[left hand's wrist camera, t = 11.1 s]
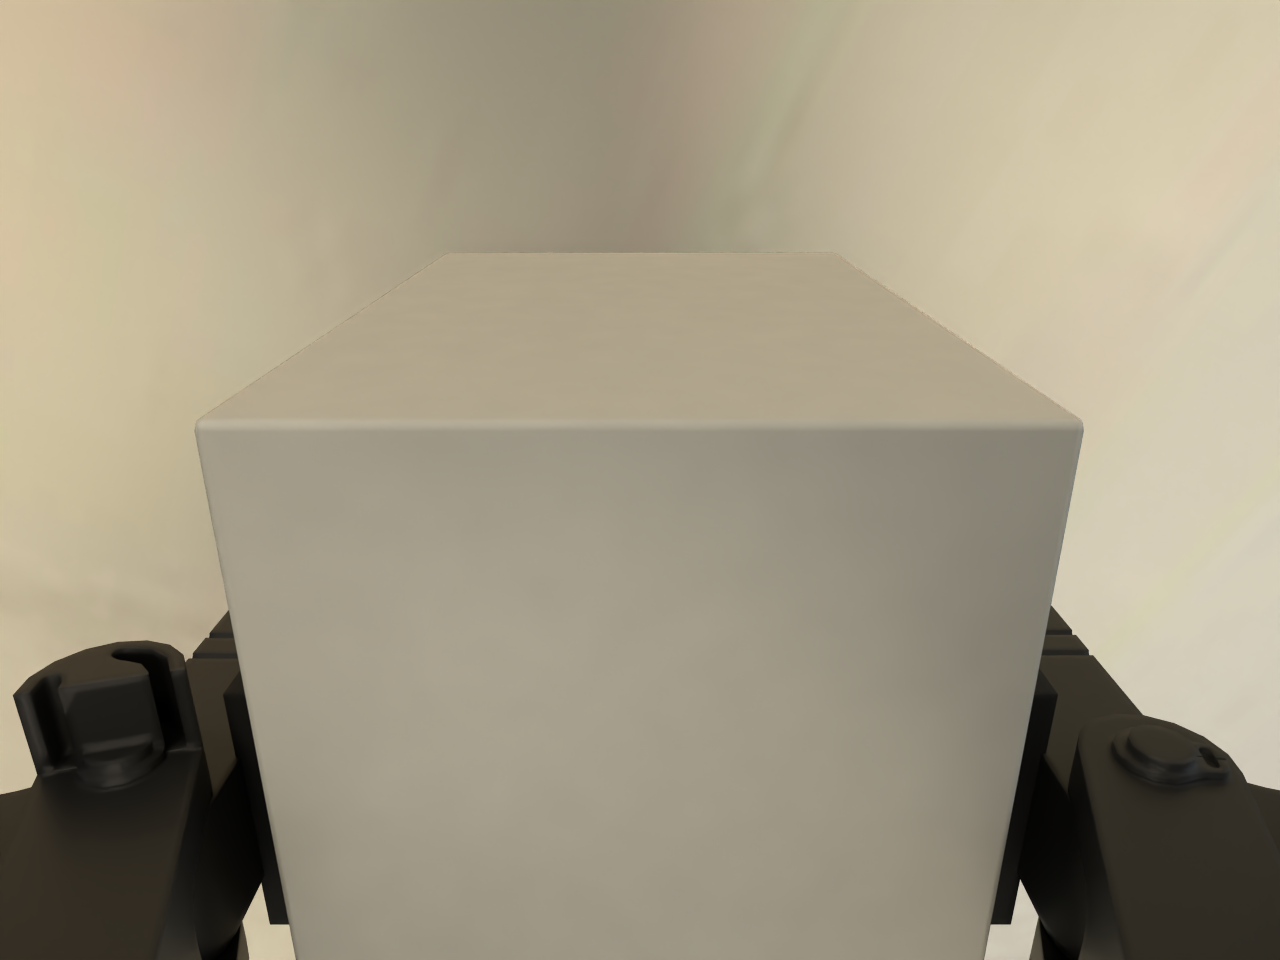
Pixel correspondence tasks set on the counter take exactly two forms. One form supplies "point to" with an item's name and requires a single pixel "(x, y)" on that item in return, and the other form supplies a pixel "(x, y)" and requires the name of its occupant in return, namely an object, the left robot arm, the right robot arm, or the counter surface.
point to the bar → (639, 612)
